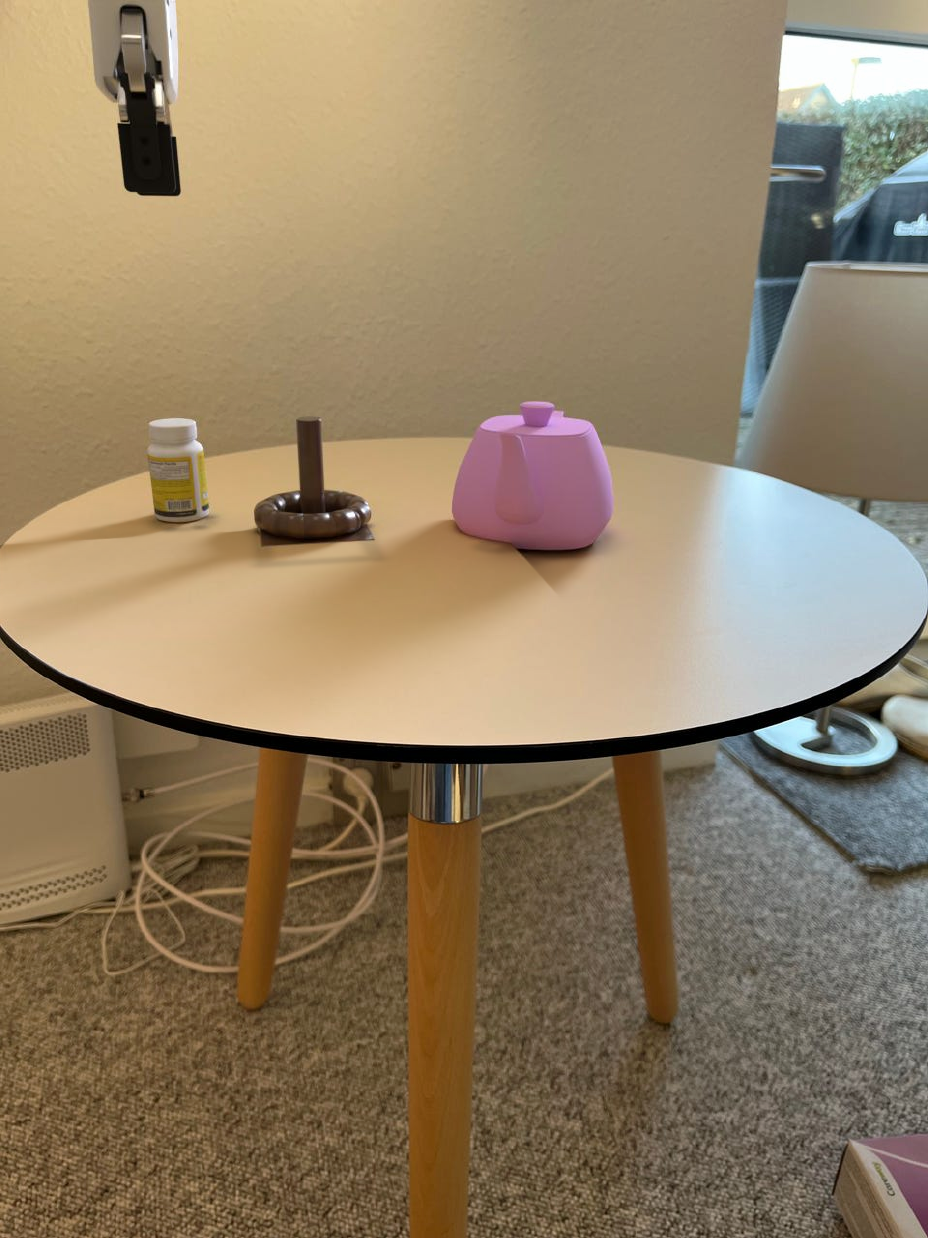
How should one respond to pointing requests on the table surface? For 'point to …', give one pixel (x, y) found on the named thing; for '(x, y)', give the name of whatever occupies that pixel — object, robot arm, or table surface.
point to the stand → (311, 485)
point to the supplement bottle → (177, 471)
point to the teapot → (534, 481)
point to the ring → (312, 515)
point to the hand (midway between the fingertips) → (155, 193)
